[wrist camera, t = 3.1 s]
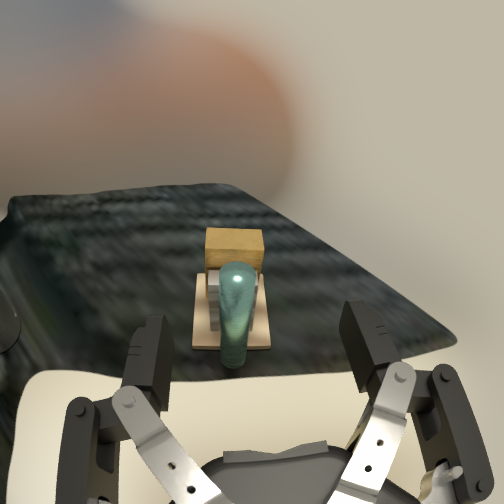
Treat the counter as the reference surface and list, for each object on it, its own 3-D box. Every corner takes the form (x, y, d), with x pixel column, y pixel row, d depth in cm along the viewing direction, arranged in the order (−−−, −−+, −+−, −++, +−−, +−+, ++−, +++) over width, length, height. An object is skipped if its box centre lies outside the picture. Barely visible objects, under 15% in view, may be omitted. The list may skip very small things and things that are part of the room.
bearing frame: (270, 348, 41) (281, 301, 34) (192, 348, 40) (185, 300, 33) (261, 278, 52) (269, 227, 44) (197, 277, 51) (194, 226, 43)
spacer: (255, 299, 42) (264, 250, 36) (205, 298, 41) (205, 248, 35) (253, 278, 45) (261, 229, 39) (206, 277, 44) (206, 227, 38)
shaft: (246, 368, 34) (257, 288, 25) (220, 368, 34) (218, 288, 24) (240, 267, 47) (246, 184, 38) (220, 267, 47) (221, 183, 37)
